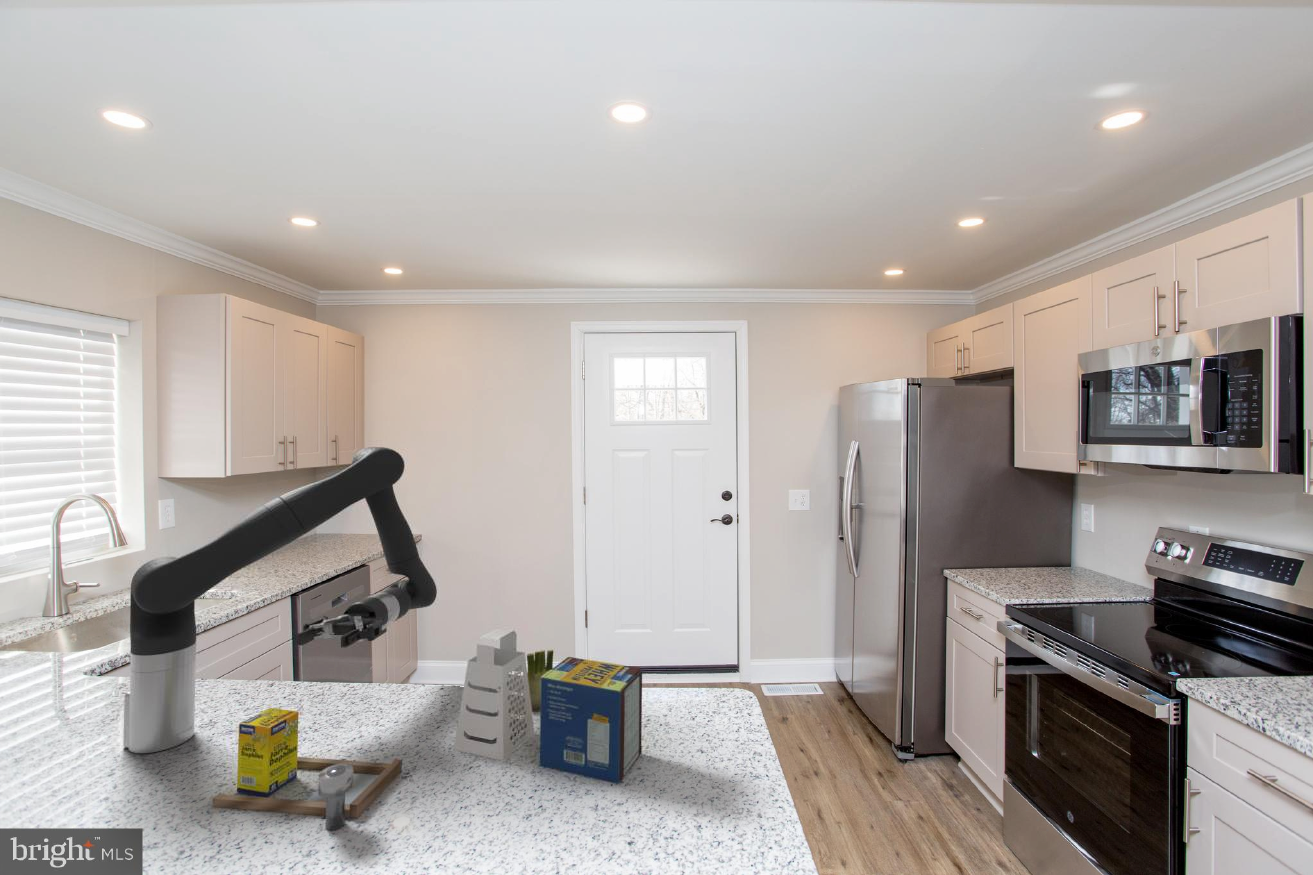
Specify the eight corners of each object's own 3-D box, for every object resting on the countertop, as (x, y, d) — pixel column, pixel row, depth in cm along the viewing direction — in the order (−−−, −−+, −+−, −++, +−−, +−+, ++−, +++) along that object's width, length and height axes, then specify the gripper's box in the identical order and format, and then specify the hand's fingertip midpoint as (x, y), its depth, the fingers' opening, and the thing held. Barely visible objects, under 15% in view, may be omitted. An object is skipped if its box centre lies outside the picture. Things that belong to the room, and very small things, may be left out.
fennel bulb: (553, 702, 126) (554, 646, 126) (552, 713, 121) (553, 654, 121) (525, 703, 125) (526, 647, 125) (523, 714, 120) (524, 655, 120)
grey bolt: (310, 834, 83) (311, 777, 83) (330, 814, 87) (331, 760, 87) (339, 836, 82) (340, 779, 82) (358, 816, 87) (359, 762, 87)
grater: (534, 732, 112) (536, 628, 113) (503, 760, 103) (505, 646, 103) (488, 723, 116) (490, 622, 116) (453, 749, 106) (455, 638, 106)
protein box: (566, 737, 111) (567, 655, 111) (642, 753, 106) (643, 667, 106) (537, 766, 101) (539, 676, 101) (619, 785, 96) (621, 690, 96)
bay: (212, 806, 89) (212, 793, 89) (273, 761, 101) (273, 750, 101) (357, 818, 86) (357, 804, 86) (401, 771, 99) (401, 759, 99)
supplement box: (267, 798, 91) (269, 727, 91) (235, 792, 92) (237, 723, 92) (298, 776, 97) (299, 710, 97) (267, 772, 98) (269, 706, 98)
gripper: (340, 595, 123) (284, 619, 107) (405, 597, 122) (357, 622, 106) (340, 630, 123) (283, 660, 107) (404, 633, 122) (357, 663, 106)
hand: (320, 641), depth 106 cm, fingers open, 8 cm apart
